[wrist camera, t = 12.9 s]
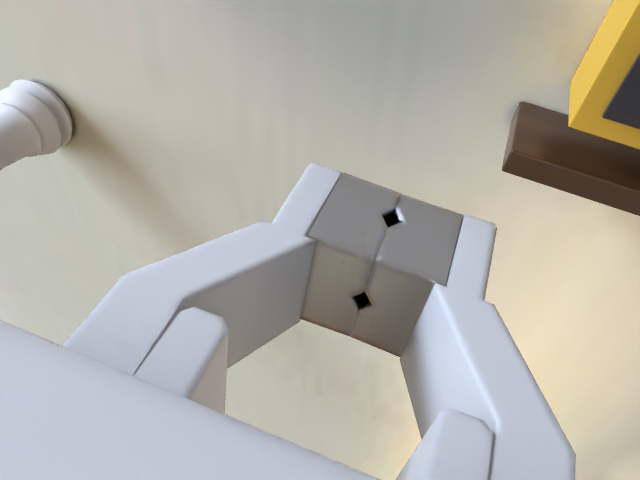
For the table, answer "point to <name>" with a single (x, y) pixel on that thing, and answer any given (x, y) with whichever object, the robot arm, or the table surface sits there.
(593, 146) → the case
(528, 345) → the table surface
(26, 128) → the rook chess piece
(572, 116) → the yellow box grey face
